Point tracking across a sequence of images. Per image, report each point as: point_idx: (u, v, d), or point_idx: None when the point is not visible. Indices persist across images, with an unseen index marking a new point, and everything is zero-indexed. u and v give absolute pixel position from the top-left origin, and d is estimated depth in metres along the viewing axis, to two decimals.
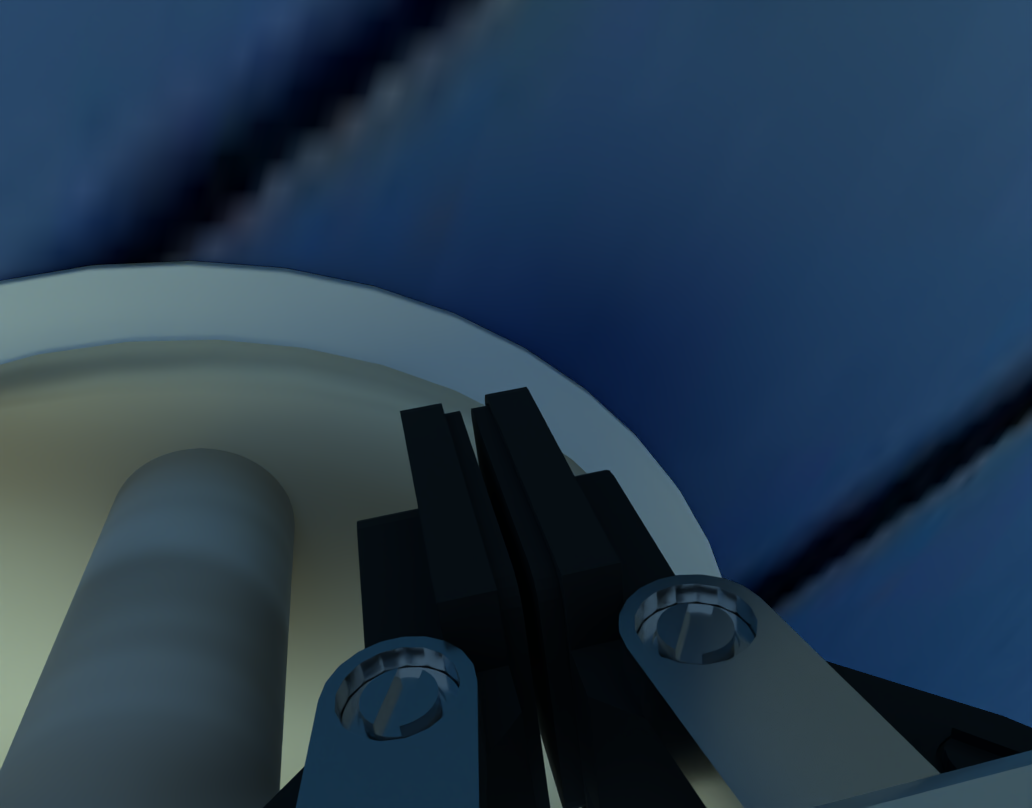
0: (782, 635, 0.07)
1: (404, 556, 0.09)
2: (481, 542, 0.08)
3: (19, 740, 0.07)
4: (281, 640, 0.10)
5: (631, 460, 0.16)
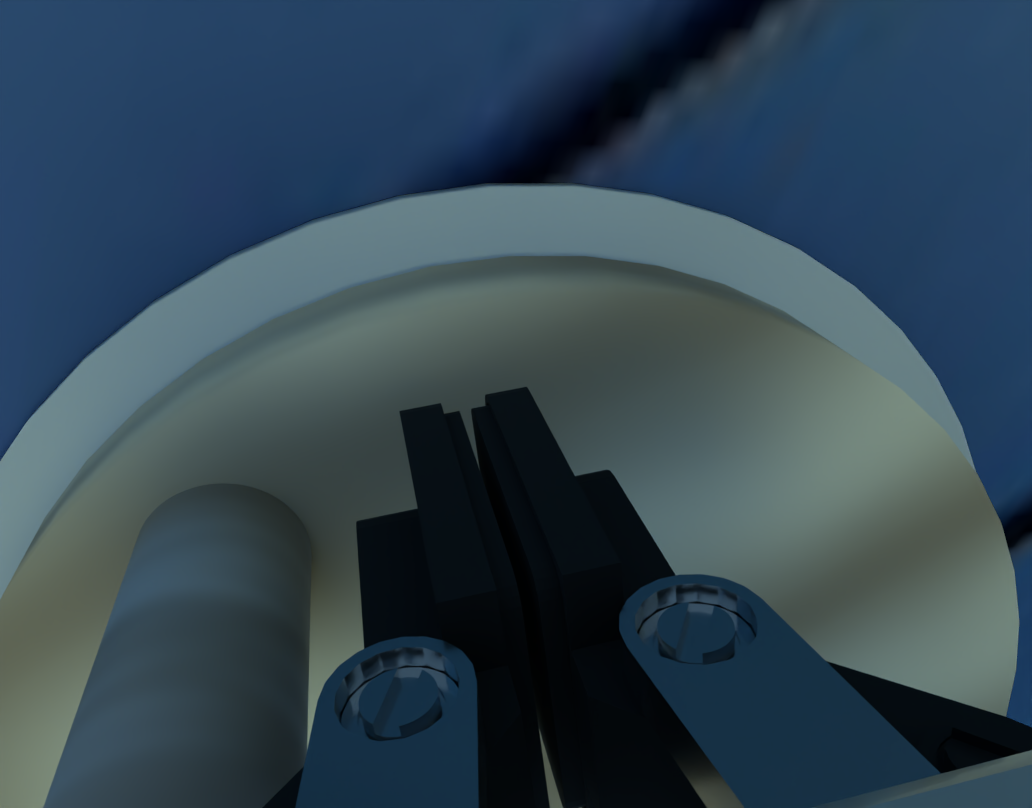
0: (782, 635, 0.07)
1: (404, 556, 0.09)
2: (481, 542, 0.08)
3: None
4: (249, 626, 0.10)
5: (924, 393, 0.17)
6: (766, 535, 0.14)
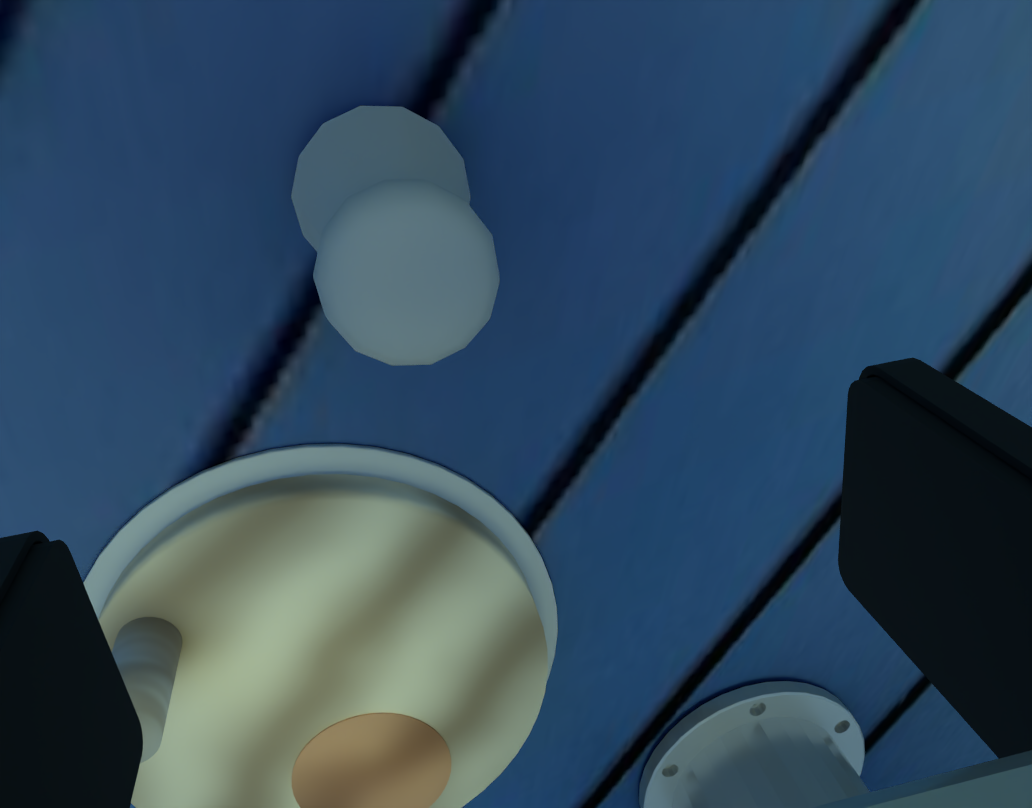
0: None
1: None
2: None
3: None
4: (138, 669, 0.31)
5: (440, 477, 0.36)
6: (358, 570, 0.34)
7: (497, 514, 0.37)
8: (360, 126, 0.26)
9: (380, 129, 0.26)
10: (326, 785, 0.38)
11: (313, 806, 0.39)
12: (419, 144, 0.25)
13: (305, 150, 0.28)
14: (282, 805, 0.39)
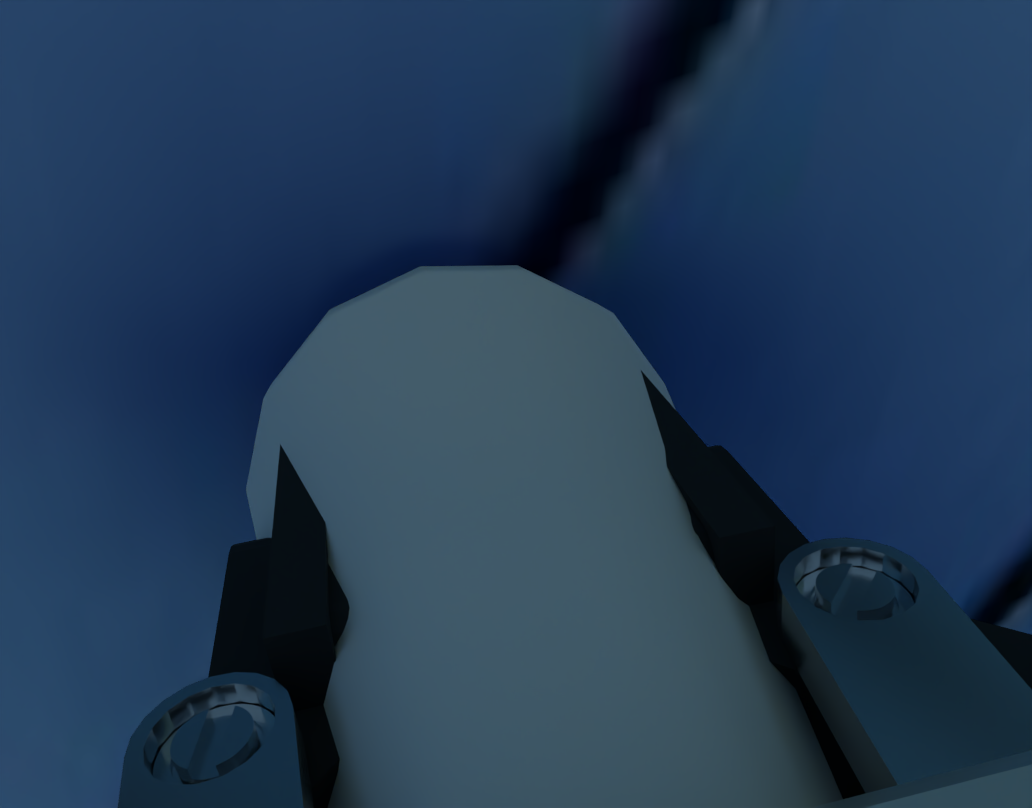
0: (943, 606, 0.07)
1: None
2: (325, 573, 0.08)
3: None
4: None
5: None
6: None
7: None
8: (431, 361, 0.09)
9: (495, 374, 0.09)
10: None
11: None
12: (614, 431, 0.08)
13: (280, 389, 0.11)
14: None
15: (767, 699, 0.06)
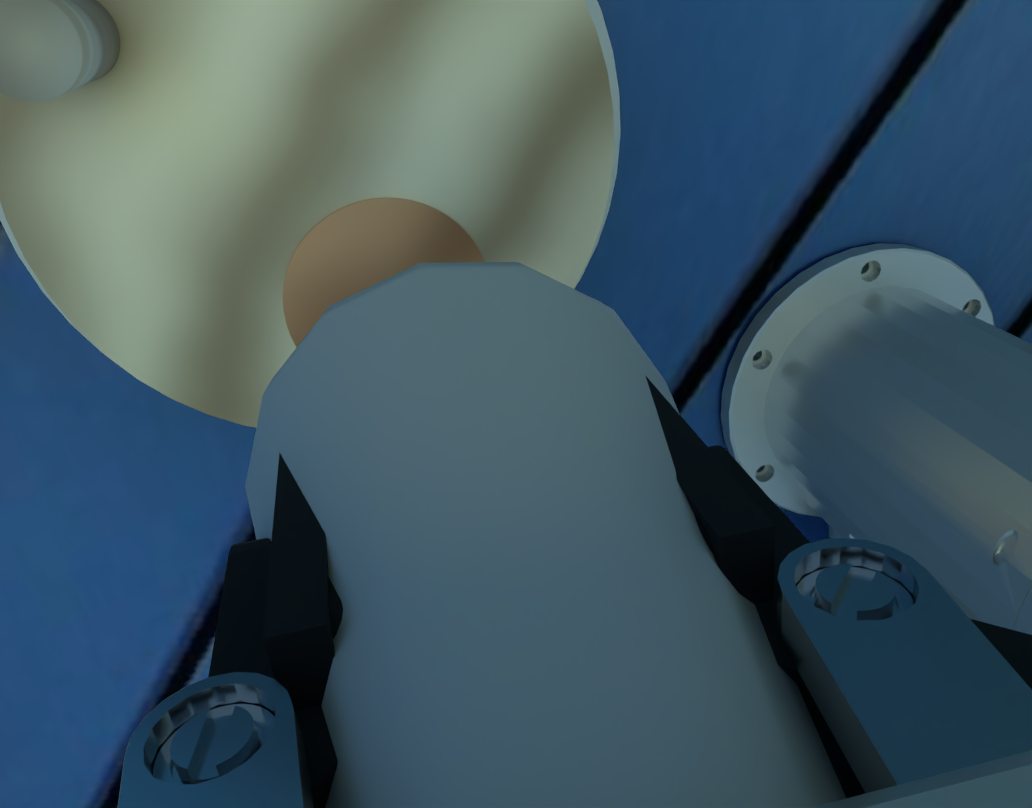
0: (943, 606, 0.07)
1: None
2: (325, 573, 0.08)
3: None
4: None
5: None
6: None
7: None
8: (431, 357, 0.09)
9: (495, 370, 0.09)
10: None
11: None
12: (615, 426, 0.08)
13: (279, 385, 0.11)
14: (273, 343, 0.29)
15: (769, 694, 0.06)
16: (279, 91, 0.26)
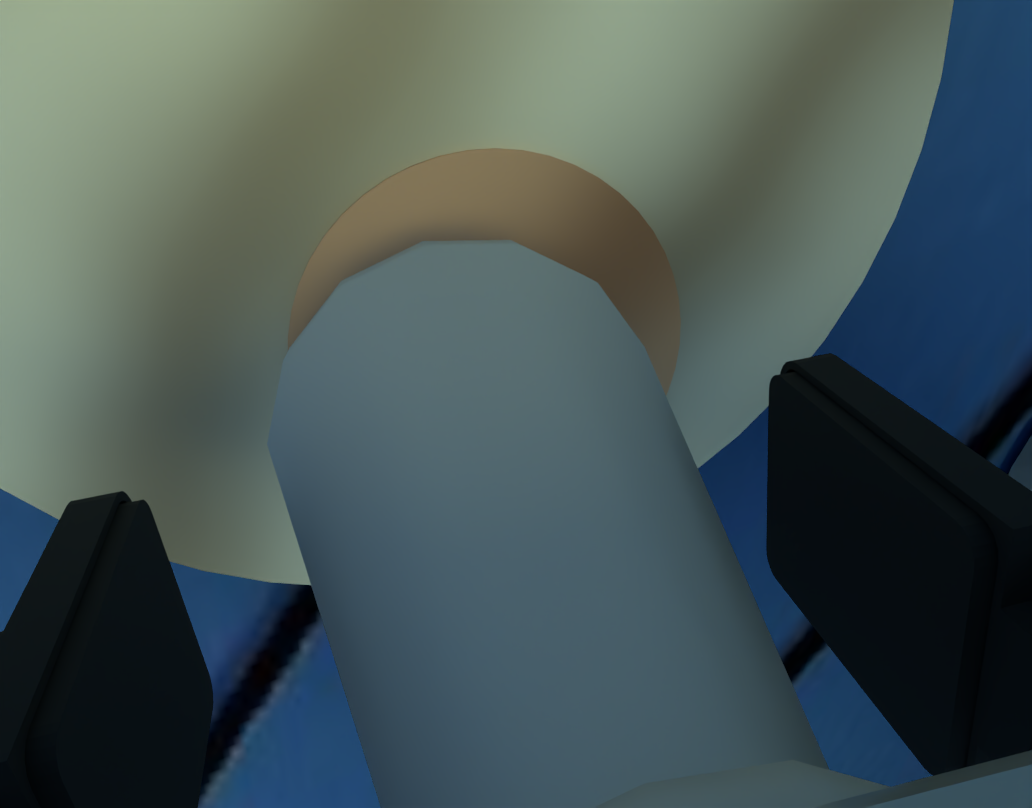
0: None
1: None
2: (35, 688, 0.07)
3: None
4: None
5: None
6: None
7: None
8: (435, 321, 0.10)
9: (491, 331, 0.10)
10: None
11: None
12: (597, 379, 0.10)
13: (298, 351, 0.12)
14: (265, 425, 0.15)
15: (723, 591, 0.08)
16: None
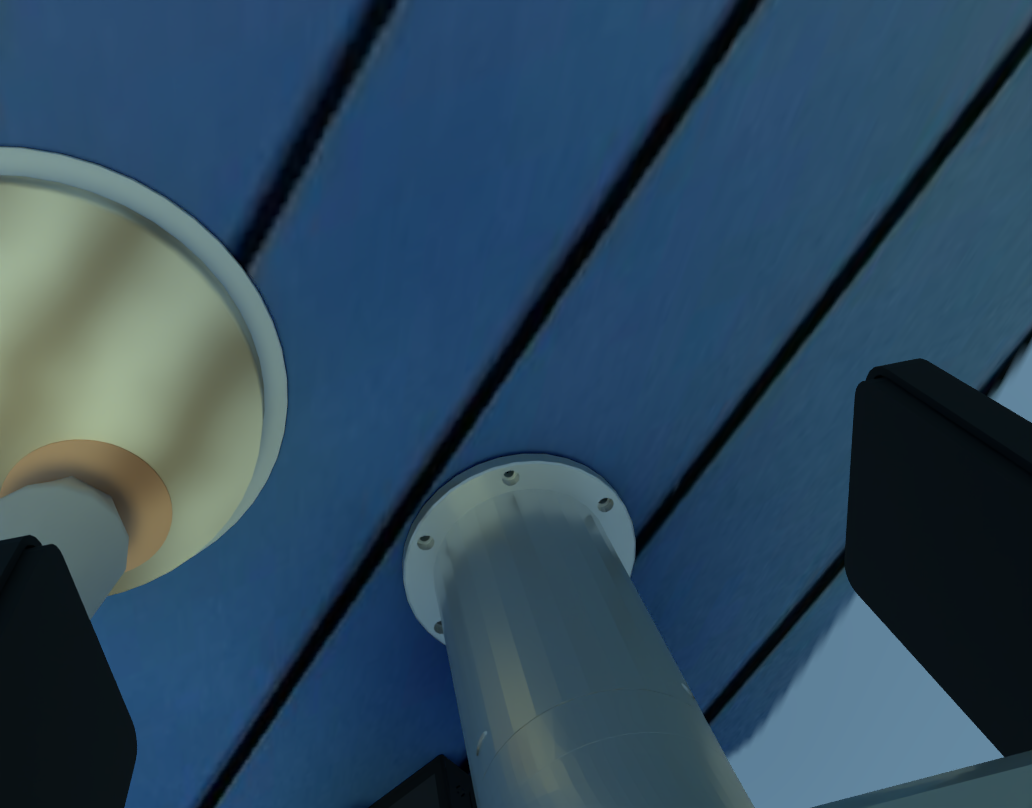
0: None
1: None
2: None
3: None
4: None
5: (132, 190, 0.36)
6: (35, 270, 0.34)
7: (201, 237, 0.37)
8: (7, 524, 0.33)
9: (20, 529, 0.33)
10: None
11: None
12: None
13: None
14: None
15: None
16: None
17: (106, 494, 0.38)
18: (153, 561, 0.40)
